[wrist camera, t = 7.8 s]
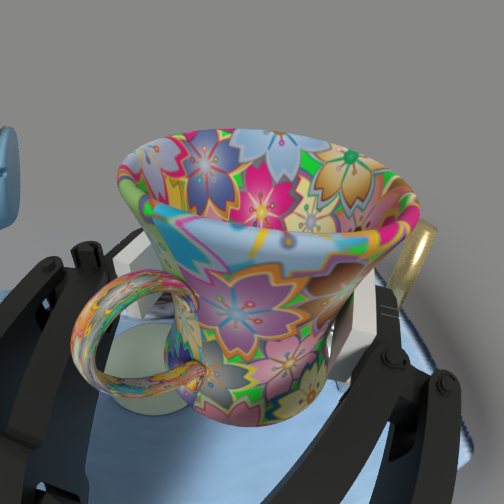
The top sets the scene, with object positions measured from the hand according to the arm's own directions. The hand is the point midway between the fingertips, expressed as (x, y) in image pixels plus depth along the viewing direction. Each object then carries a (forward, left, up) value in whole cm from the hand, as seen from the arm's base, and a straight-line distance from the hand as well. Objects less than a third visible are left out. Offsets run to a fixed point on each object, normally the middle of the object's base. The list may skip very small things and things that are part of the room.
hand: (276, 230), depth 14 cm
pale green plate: (-10, 0, -18) cm, 20 cm away
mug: (0, -5, -6) cm, 8 cm away
